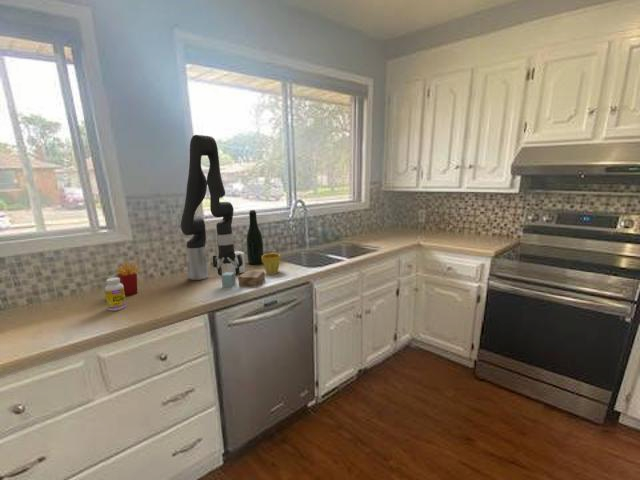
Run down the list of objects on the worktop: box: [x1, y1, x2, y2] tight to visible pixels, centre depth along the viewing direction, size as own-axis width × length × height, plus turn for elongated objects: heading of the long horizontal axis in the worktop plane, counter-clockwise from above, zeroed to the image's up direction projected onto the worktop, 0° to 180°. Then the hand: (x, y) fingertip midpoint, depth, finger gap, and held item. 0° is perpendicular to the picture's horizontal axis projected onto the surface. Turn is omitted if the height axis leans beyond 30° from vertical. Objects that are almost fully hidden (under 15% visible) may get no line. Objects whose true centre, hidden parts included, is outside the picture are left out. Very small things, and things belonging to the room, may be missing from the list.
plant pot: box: [261, 253, 281, 275], centre depth 180 cm, size 10×10×10 cm
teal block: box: [221, 271, 237, 288], centre depth 161 cm, size 5×5×6 cm
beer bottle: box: [245, 209, 265, 265], centre depth 199 cm, size 10×10×33 cm
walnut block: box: [237, 270, 266, 288], centre depth 163 cm, size 10×10×5 cm
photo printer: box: [226, 250, 246, 275], centre depth 180 cm, size 10×4×12 cm, turn 123°
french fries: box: [116, 262, 141, 297], centre depth 153 cm, size 9×8×15 cm
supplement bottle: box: [104, 276, 127, 312], centre depth 135 cm, size 7×7×13 cm
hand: (229, 274), depth 160 cm, fingers open, 8 cm apart
